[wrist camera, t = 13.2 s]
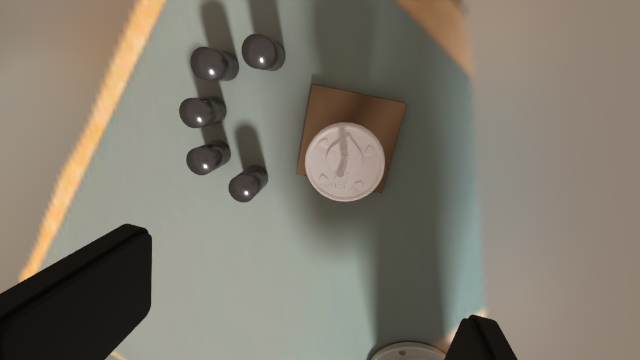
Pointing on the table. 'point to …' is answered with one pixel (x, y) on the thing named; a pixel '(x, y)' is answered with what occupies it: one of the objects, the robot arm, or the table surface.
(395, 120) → the walnut pad
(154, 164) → the table surface
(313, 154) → the smoothie
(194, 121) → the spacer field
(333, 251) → the table surface
